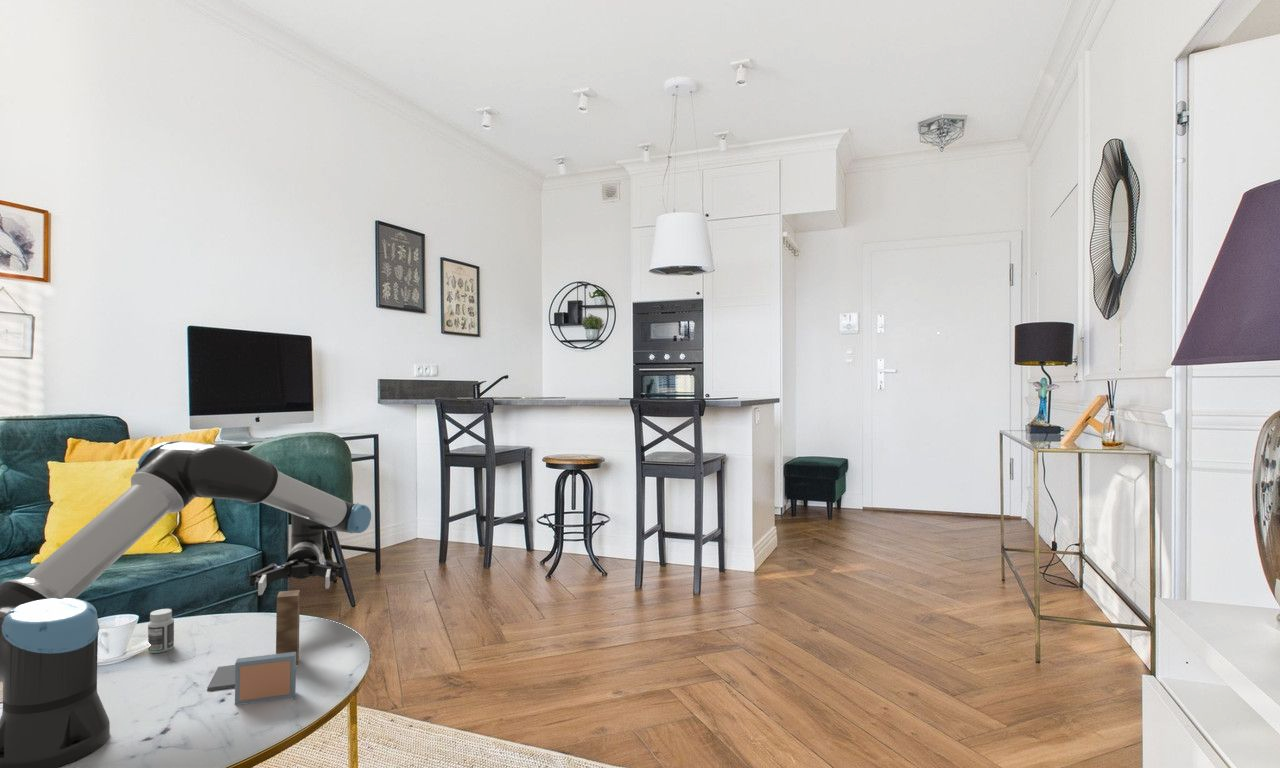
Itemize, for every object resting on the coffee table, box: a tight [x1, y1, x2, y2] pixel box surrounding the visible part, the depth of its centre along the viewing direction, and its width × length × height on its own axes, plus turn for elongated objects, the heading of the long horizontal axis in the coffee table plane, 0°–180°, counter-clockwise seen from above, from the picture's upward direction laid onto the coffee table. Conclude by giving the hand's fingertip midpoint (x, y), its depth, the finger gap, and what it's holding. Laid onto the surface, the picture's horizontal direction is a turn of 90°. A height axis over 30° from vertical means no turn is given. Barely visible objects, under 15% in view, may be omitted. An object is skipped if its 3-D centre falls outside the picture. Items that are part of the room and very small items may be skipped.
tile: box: [234, 652, 297, 706], centre depth 128 cm, size 10×2×8 cm, turn 112°
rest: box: [206, 664, 235, 692], centre depth 137 cm, size 10×10×1 cm
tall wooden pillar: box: [275, 589, 301, 666], centre depth 144 cm, size 4×4×15 cm
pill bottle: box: [147, 608, 175, 654], centre depth 150 cm, size 5×5×8 cm
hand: (294, 586), depth 152 cm, fingers open, 13 cm apart
